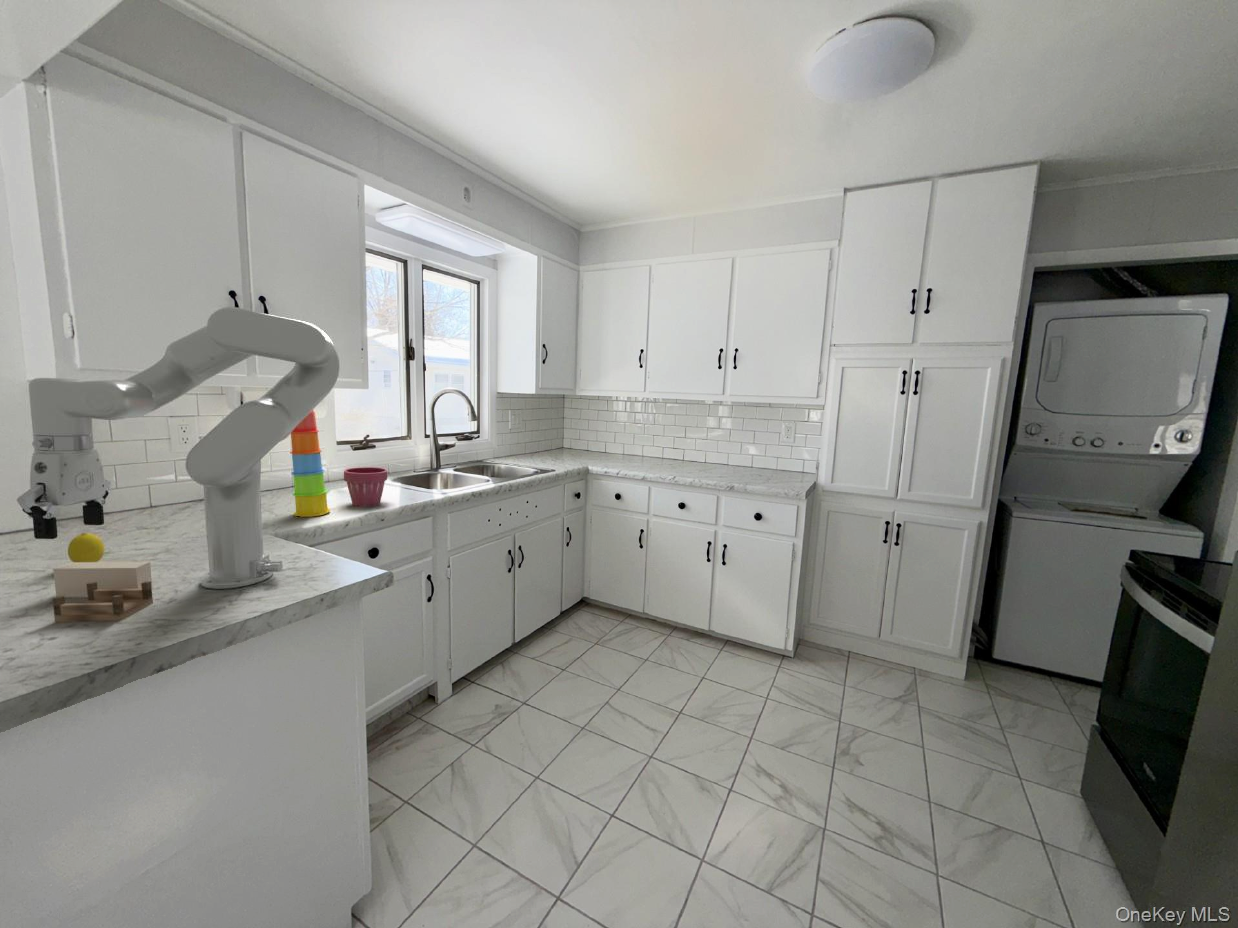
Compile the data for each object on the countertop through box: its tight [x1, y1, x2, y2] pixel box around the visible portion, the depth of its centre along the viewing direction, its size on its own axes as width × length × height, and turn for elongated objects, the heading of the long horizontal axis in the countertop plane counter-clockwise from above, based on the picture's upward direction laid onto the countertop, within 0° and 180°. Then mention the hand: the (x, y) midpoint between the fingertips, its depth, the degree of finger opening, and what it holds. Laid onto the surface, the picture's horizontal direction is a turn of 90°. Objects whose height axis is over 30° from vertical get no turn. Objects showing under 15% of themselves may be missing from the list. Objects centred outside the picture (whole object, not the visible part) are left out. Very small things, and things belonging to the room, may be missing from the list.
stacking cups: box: [289, 409, 331, 518], centre depth 160 cm, size 10×10×35 cm
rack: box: [52, 581, 154, 623], centre depth 89 cm, size 10×7×4 cm
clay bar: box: [52, 561, 153, 598], centre depth 97 cm, size 14×4×6 cm, turn 99°
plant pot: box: [343, 466, 388, 508], centre depth 178 cm, size 14×14×13 cm
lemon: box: [67, 532, 106, 562], centre depth 109 cm, size 6×6×8 cm
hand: (71, 531), depth 95 cm, fingers open, 9 cm apart
